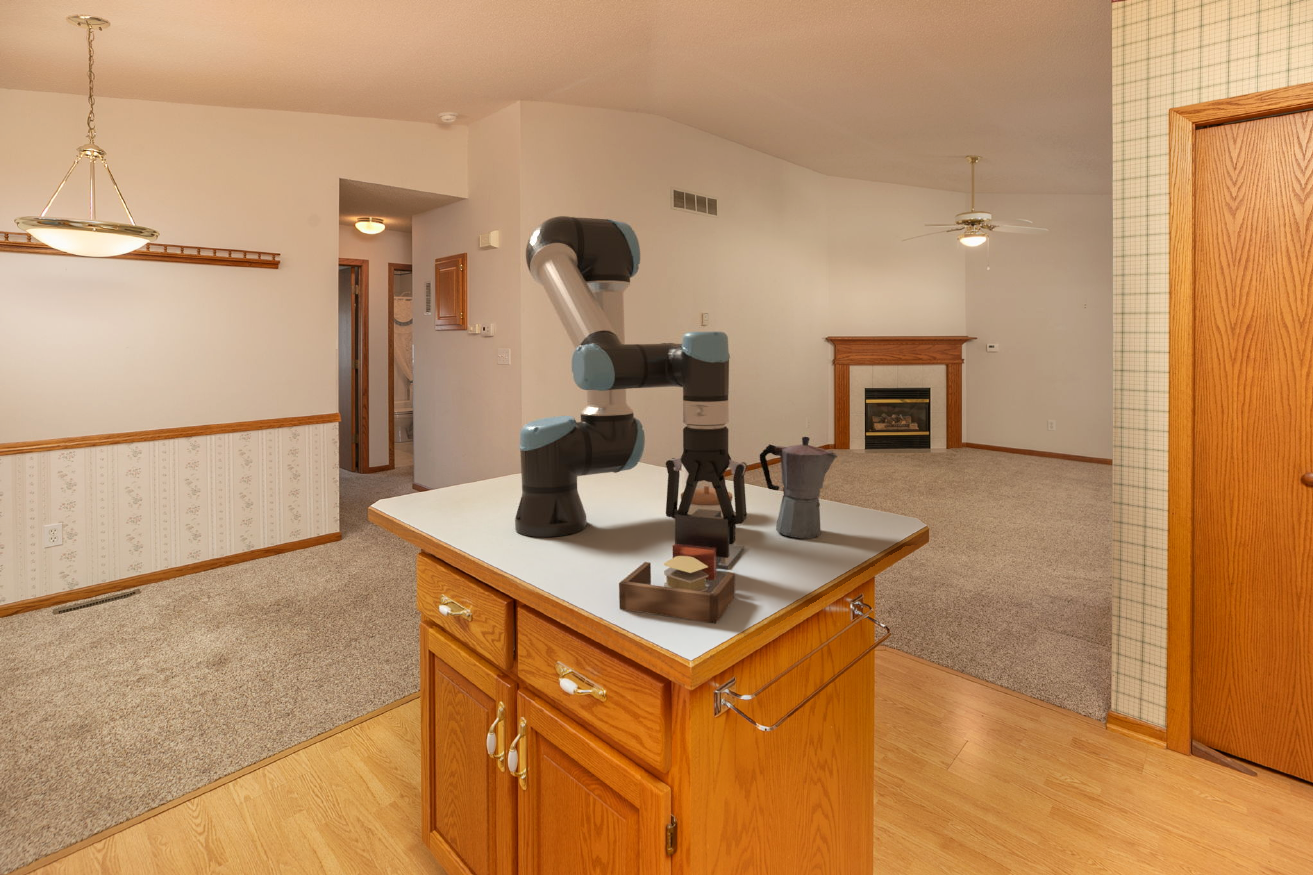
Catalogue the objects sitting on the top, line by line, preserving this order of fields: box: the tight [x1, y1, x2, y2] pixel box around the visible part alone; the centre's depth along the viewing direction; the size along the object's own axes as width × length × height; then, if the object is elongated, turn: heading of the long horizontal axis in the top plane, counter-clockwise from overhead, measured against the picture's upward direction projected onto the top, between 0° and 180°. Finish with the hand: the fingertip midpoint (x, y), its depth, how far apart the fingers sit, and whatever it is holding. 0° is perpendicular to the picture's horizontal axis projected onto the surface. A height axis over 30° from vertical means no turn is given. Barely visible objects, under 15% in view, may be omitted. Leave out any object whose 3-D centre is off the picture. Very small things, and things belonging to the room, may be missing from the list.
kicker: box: [672, 509, 730, 581], centre depth 111 cm, size 9×9×9 cm
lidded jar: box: [680, 486, 733, 518], centre depth 138 cm, size 11×11×9 cm
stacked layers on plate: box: [663, 556, 709, 592], centre depth 103 cm, size 10×9×6 cm
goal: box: [618, 561, 736, 624], centre depth 100 cm, size 15×10×4 cm, turn 68°
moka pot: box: [759, 436, 838, 539], centre depth 135 cm, size 10×15×20 cm, turn 78°
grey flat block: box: [716, 544, 745, 570], centre depth 122 cm, size 6×12×1 cm, turn 158°
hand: (705, 559), depth 113 cm, fingers open, 6 cm apart
